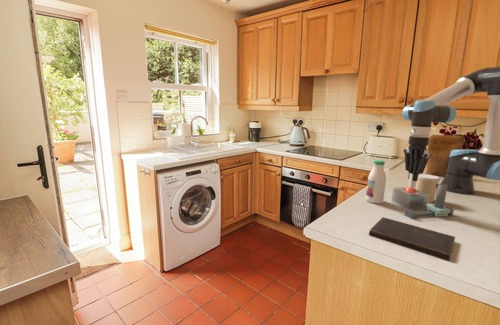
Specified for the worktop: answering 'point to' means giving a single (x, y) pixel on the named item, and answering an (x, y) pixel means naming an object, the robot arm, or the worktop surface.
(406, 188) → the button
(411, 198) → the grey block with hole
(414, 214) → the rail
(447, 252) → the hardcover book
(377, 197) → the milk bottle
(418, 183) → the coffee cup
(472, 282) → the worktop surface
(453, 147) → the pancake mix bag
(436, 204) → the carriage
